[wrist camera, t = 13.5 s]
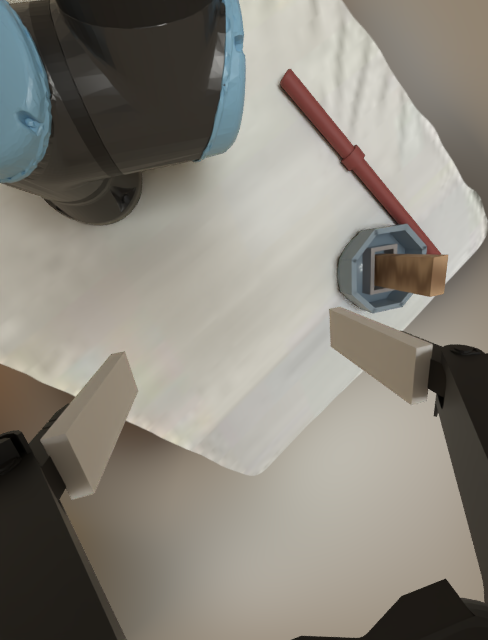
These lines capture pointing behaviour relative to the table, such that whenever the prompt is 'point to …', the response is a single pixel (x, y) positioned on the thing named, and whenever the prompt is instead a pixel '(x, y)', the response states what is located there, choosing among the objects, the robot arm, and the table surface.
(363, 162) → the rolling pin
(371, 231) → the octagonal blue tray
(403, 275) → the flat wood plank
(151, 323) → the table surface
